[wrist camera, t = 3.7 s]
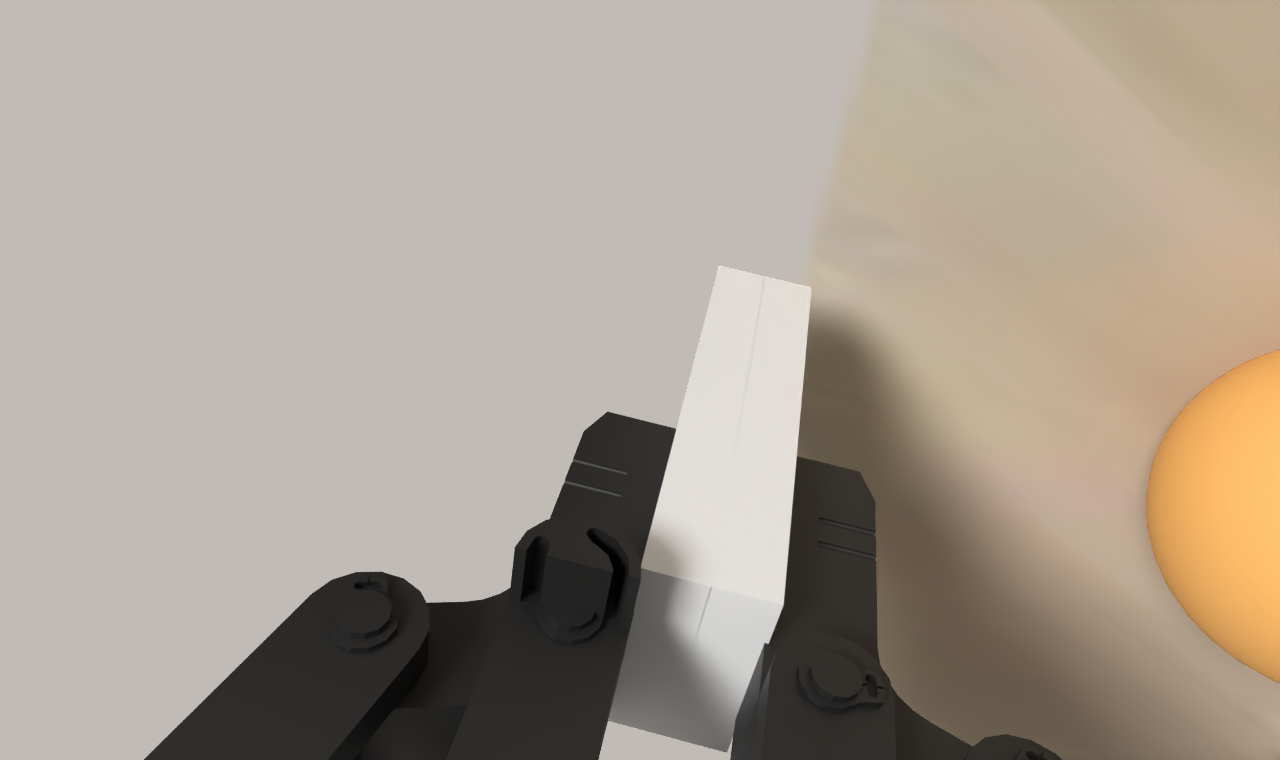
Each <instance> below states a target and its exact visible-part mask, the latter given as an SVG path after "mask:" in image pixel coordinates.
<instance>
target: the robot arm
mask: <svg viewBox="0 0 1280 760" xmlns="http://www.w3.org/2000/svg"><path fill="white" fill-rule="evenodd" d="M811 289H812V287H808V286H803V285H799V284H795V283H791V282H787V281H782V280H778V279H773V278H770V277H765V276H761V275H757V274H753V273H749V272H744V271H740V270H736V269H732V268H727V267H723V266H719V268H718V272H717V276H716V279H715V283H714V287H713V291H712V295H711V299H710V302H709V306H708V310H707V314H706V318H705V322H704V325H703V329H702V333H701V337H700V341H699V345H698V348H697V352H696V356H695V360H694V364H693V368H692V372H691V375H690V380H689V383H688V387H687V391H686V395H685V399H684V402H683V406H682V410H681V414H680V418H679V422H678V426H677V429H674V428H671V427H667V426H663V425H658V424H655V423H650V422H647V421H643V420H638V419H634V418H631V417H627V416H623V415H619V414H614V413H610V412H607V413H605V414H604V415H603V416H602V417H601V418H599V419H598V420H597V421H596V422H594V424H592V425H591V426H590V427H588V428H587V429H586V430H585V431H584V432H583V435H582V438H581V440H580V443H579V445H578V448H577V450H576V453H575V456H574V459H573V462H572V463H571V466H570V469H569V471H568V474H567V476H566V479H565V483H564V485H563V486H562V489H561V492H560V494H559V497H558V499H557V502H556V504H555V507H554V510H553V512H552V515H551V518H550V519H549V520H545V521H543V522H542V523H540V524H538V525H537V526H535V527H533V528H531V529H530V530H528V531H527V532H526V533H525V534H524V536H523V537H522V538H521V540H520V541H519V542H518V544H517V545H516V547H515V552H514V561H513V570H512V580H511V588H509V589H508V590H506V591H504V592H502V593H501V594H498V595H495V596H492V597H489V598H486V599H483V600H476V601H468V602H443V603H442V602H441V603H426V601H425V600H424V597H423V595H422V594H421V592H420V591H419V590H418V589H416V588H415V587H414V586H413V585H411V584H410V583H409V582H407V581H406V580H405V579H403V578H400V577H397V576H393V575H390V574H387V573H383V572H356V573H353V574H349V575H346V576H343V577H339V578H336V579H333V580H331V581H330V582H328V583H327V584H325V585H324V586H323V587H321V588H320V589H318V590H317V591H315V592H314V593H312V594H311V595H310V596H309V597H308V598H307V599H306V600H305V601H304V602H303V603H302V604H301V605H300V606H299V607H298V608H297V609H296V610H295V611H294V612H293V613H292V614H291V615H290V616H289V617H288V618H287V619H286V620H285V621H284V622H283V623H282V624H281V625H280V626H279V627H278V628H277V629H276V630H275V631H274V632H273V633H272V634H271V635H270V636H269V637H268V638H267V639H266V640H265V641H264V642H263V643H262V644H261V645H260V646H259V647H258V648H257V649H256V650H254V652H252V653H251V654H250V655H249V656H248V658H246V659H245V660H244V661H243V663H241V664H240V665H239V666H238V667H237V668H236V669H235V671H233V672H232V673H231V674H230V675H229V676H228V677H227V678H226V679H225V680H224V681H223V682H222V683H221V684H220V685H219V686H218V687H217V688H216V689H215V690H214V691H213V692H212V693H211V694H210V695H209V696H208V697H207V698H206V699H205V700H204V701H203V702H202V703H201V704H200V705H199V706H198V707H197V708H196V709H195V710H194V711H193V712H192V713H191V714H190V715H189V716H188V717H187V718H186V719H185V720H184V721H183V722H182V723H180V724H179V725H178V726H177V728H175V729H174V730H173V731H172V732H171V733H170V734H169V735H168V736H167V737H166V738H165V739H164V740H163V741H162V742H161V743H160V744H159V745H158V746H157V747H156V748H155V749H154V750H153V751H152V752H151V753H150V754H149V755H148V756H147V757H146V758H145V759H144V760H598V759H599V754H600V750H601V746H602V742H603V738H604V734H605V730H606V726H607V722H608V721H612V722H615V723H619V724H623V725H627V726H630V727H634V728H638V729H641V730H645V731H649V732H652V733H656V734H660V735H664V736H667V737H671V738H675V739H678V740H682V741H686V742H690V743H693V744H697V745H701V746H704V747H708V748H712V749H716V750H719V751H723V752H727V750H728V748H729V745H730V742H731V740H732V738H733V743H732V751H731V759H730V760H1062V759H1061V758H1060V757H1058V756H1057V755H1056V754H1055V753H1053V752H1051V751H1049V750H1048V749H1046V748H1044V747H1042V746H1041V745H1039V744H1037V743H1035V742H1033V741H1032V740H1028V739H1024V738H1019V737H1015V736H1010V735H1000V736H993V737H987V738H984V739H983V740H981V741H980V742H979V743H978V744H976V745H975V746H974V747H972V746H970V745H969V744H967V743H965V742H963V741H962V740H960V739H958V738H956V737H955V736H953V735H951V734H949V733H948V732H946V731H944V730H942V729H941V728H939V727H937V726H935V725H934V724H932V723H930V722H929V721H927V720H926V719H924V718H923V717H921V716H920V715H919V714H917V713H916V712H914V711H913V710H912V709H911V708H910V707H909V706H908V705H907V704H906V703H905V702H904V701H903V700H902V699H901V698H900V697H898V695H897V694H896V692H895V691H894V690H893V688H892V687H891V684H890V680H889V678H888V676H887V675H886V673H885V672H884V670H883V669H882V667H881V665H880V661H879V655H878V649H877V591H876V561H875V556H876V537H874V535H875V501H874V499H873V497H872V495H871V493H870V491H869V489H868V487H867V485H866V483H865V481H864V480H863V478H862V476H861V474H860V472H858V471H854V470H850V469H846V468H842V467H838V466H834V465H830V464H826V463H821V462H817V461H813V460H809V459H805V458H801V457H797V447H798V436H799V425H800V413H801V402H802V391H803V379H804V368H805V357H806V345H807V334H808V323H809V311H810V300H811Z"/></svg>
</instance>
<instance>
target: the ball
mask: <svg viewBox="0 0 1280 760" xmlns="http://www.w3.org/2000/svg"><path fill="white" fill-rule="evenodd" d="M1147 527H1148V531H1149V536H1150V540H1151V544H1152V549H1153V553H1154V557H1155V559H1156V561H1157V563H1158V566H1159V568H1160V570H1161V572H1162V575H1163V577H1164V579H1165V581H1166V584H1167V586H1168V587H1169V589H1170V590H1171V592H1172V593H1173V595H1174V596H1175V598H1176V599H1177V601H1178V602H1179V604H1180V605H1181V606H1182V608H1183V609H1184V611H1185V612H1186V614H1187V615H1188V616H1189V617H1190V618H1191V619H1192V620H1193V621H1194V622H1195V623H1196V625H1197V626H1198V627H1199V628H1200V629H1201V630H1202V631H1203V632H1204V633H1205V634H1206V635H1207V636H1208V637H1209V638H1210V639H1211V640H1212V641H1213V642H1215V643H1216V644H1217V645H1218V646H1220V647H1221V648H1222V649H1224V650H1225V651H1226V652H1228V653H1229V654H1230V655H1232V656H1233V657H1234V658H1236V659H1237V660H1238V661H1240V662H1241V663H1242V664H1244V665H1246V666H1248V667H1250V668H1251V669H1253V670H1255V671H1257V672H1258V673H1260V674H1262V675H1264V676H1266V677H1268V678H1269V679H1271V680H1273V681H1275V682H1277V683H1280V350H1277V351H1274V352H1271V353H1268V354H1265V355H1263V356H1260V357H1258V358H1255V359H1253V360H1250V361H1248V362H1246V363H1244V364H1242V365H1240V366H1238V367H1236V368H1235V369H1233V370H1231V371H1229V372H1228V373H1226V374H1224V375H1223V376H1221V377H1220V378H1218V379H1217V380H1215V381H1214V382H1213V383H1211V384H1210V385H1209V386H1208V387H1206V388H1205V389H1204V390H1203V391H1201V392H1200V393H1199V394H1198V395H1197V396H1196V397H1195V398H1194V399H1193V400H1192V401H1191V402H1190V403H1189V404H1188V405H1187V406H1186V407H1185V409H1184V410H1183V411H1182V412H1181V413H1180V414H1179V416H1178V417H1177V418H1176V420H1175V421H1174V422H1173V423H1172V425H1171V426H1170V428H1169V430H1168V432H1167V433H1166V435H1165V437H1164V439H1163V441H1162V443H1161V445H1160V447H1159V449H1158V451H1157V454H1156V456H1155V459H1154V462H1153V465H1152V468H1151V473H1150V478H1149V484H1148V489H1147Z"/></svg>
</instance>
